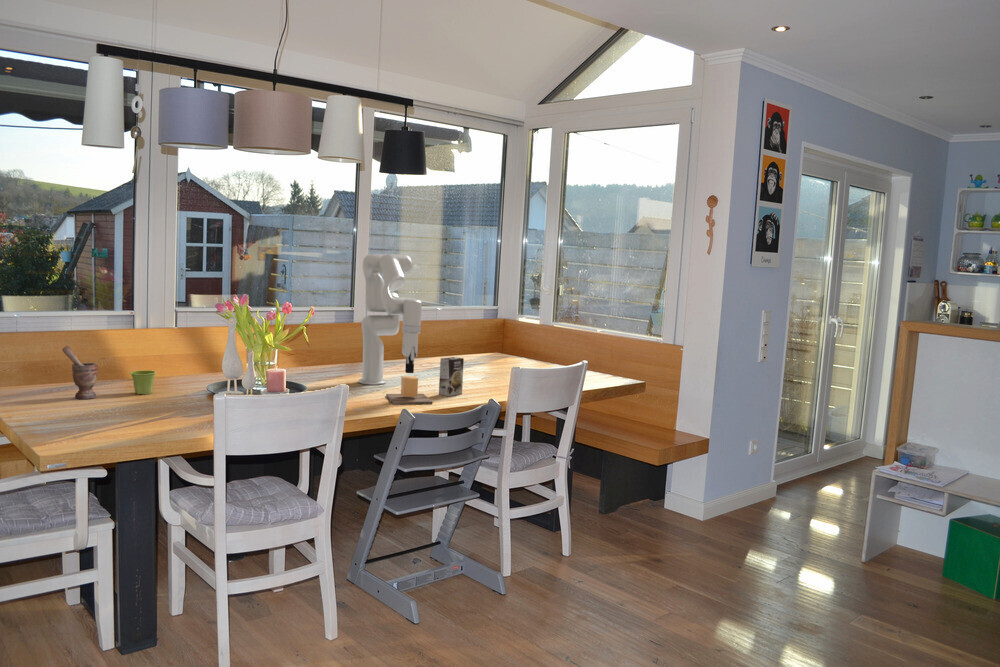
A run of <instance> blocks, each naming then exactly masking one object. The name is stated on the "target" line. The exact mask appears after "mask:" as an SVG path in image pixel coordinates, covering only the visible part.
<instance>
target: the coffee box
mask: <svg viewBox="0 0 1000 667" xmlns="http://www.w3.org/2000/svg"><path fill="white" fill-rule="evenodd" d="M464 360H465V359H464V357H463V358H462V357H454V356H451V357H440V364H439V379H438V380H439V384H438V395H442V396H445V397H452V396H453V397H454V396H458V395H462V394H463V386H464V385H463V383H464V382H463V381H464V380H463V379H464V378H463V377H464Z"/></svg>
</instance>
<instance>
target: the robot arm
mask: <svg viewBox="0 0 1000 667" xmlns="http://www.w3.org/2000/svg"><path fill="white" fill-rule="evenodd" d="M412 269H413V262H412V259H411V257H410V256H409V255H407V254H396V253H389V254H388V253H387V254H384V253H373V254H371V253H370V254H368V255H366V256H364V258H363V260H362V272H363V275H364V279H365V280H364V281H365V294H364V295H365V299H364V300H365V303H364V304H365V309H366V310H367V311H368V312H370V313H371V312H372V313H386V314H369V315H366V316H364V317H363V318H362V320H361V332H362V365H361V366H362V371H361V378H359V379H358V383H360V384H361V385H362V384H363V385H371V386H372V385H373V386H374V385H375V386H376V385H385V384H387V380H386V379H385V378H384V354H385V352H384V350H385V346H384V342H383V340H382V339H381V338H380V337H381V336H395V335H397V334H398V333H399V330H400V321H401V320H400V318H401V316H402V326H401V327H402V328H401V333H403V336H402V346H401V354H402V355H403V356H404V357H405V371H404V373H405V374H414V371H415V368H414V367H415V358H417V357H418V351H419V349H418V348H419V334H421V326H422V325H421V324H422V305H423V304H422V303H423V302H422V301H421V300H420V299H416V298H415V297H410V296H399V294H397V293H396V292H395V291H398V290H400V289H401V288H403V287H404V285H405V284H406V281H407V280H406V277H405V275H407V274H410V273H411V272H412ZM382 276H383V277H382Z"/></svg>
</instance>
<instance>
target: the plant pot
mask: <svg viewBox="0 0 1000 667" xmlns="http://www.w3.org/2000/svg"><path fill="white" fill-rule="evenodd" d="M156 373H157V371H156V370H134V371H131V372H130V375H131V377H132V381H133V382H132V383H133V389H134V394H135V393H137V394H136V395H138V394H139V395H143V394H146V395H150V394H152V393H153V387H154V380H155V376H156Z"/></svg>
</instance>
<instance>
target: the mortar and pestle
mask: <svg viewBox="0 0 1000 667" xmlns="http://www.w3.org/2000/svg"><path fill="white" fill-rule="evenodd" d="M62 352H63V353H64V354H65V356H66V357H68V358H67V359H70V361H71V362H72V363H73V364H72V365H71V370H72V379H73V382H74V385H75V386H76V387H78V391H77V392H76V393H75V396H74V399H76V398H80V399H79V400H88V399H89V398H92V399H96V398H97V393H96V392H95V391H94V390H93V387H94V385H96V383H97V380H98V363H97V362H81V361H80V360H79V359H78V357H77V355H76V354H75V352H74V351H73V349H72V348H71V347H70V346H69V345H67V346H66V345H65V347H63V348H62ZM95 397H96V398H95ZM89 400H90V399H89Z"/></svg>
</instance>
